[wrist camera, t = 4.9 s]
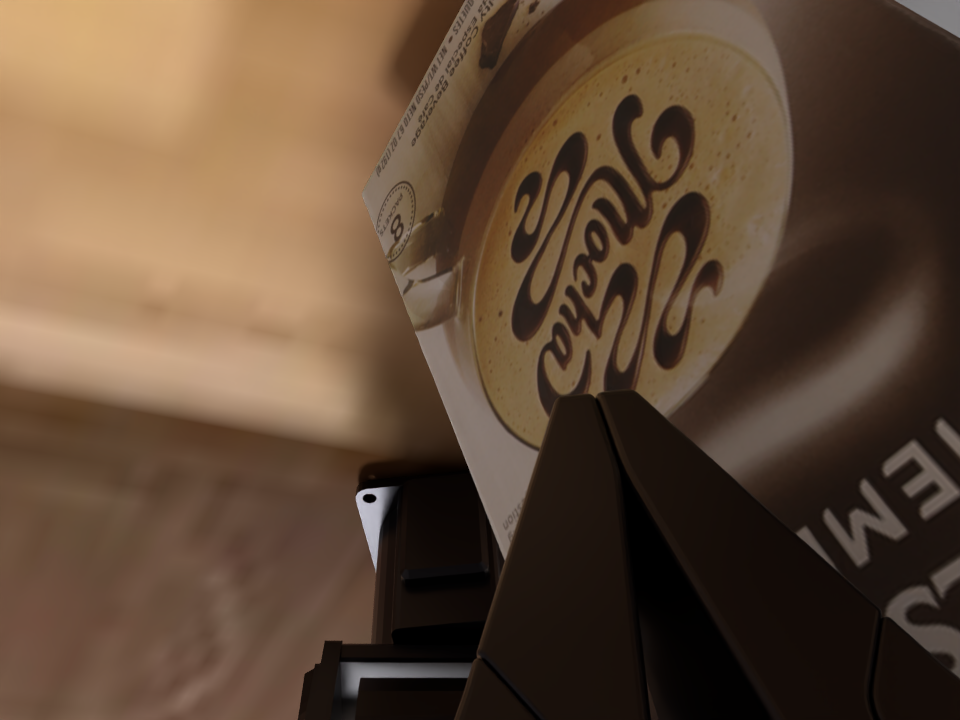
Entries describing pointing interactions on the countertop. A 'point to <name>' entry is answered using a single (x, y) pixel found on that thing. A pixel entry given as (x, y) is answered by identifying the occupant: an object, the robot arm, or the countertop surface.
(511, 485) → the coffee box
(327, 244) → the countertop surface
